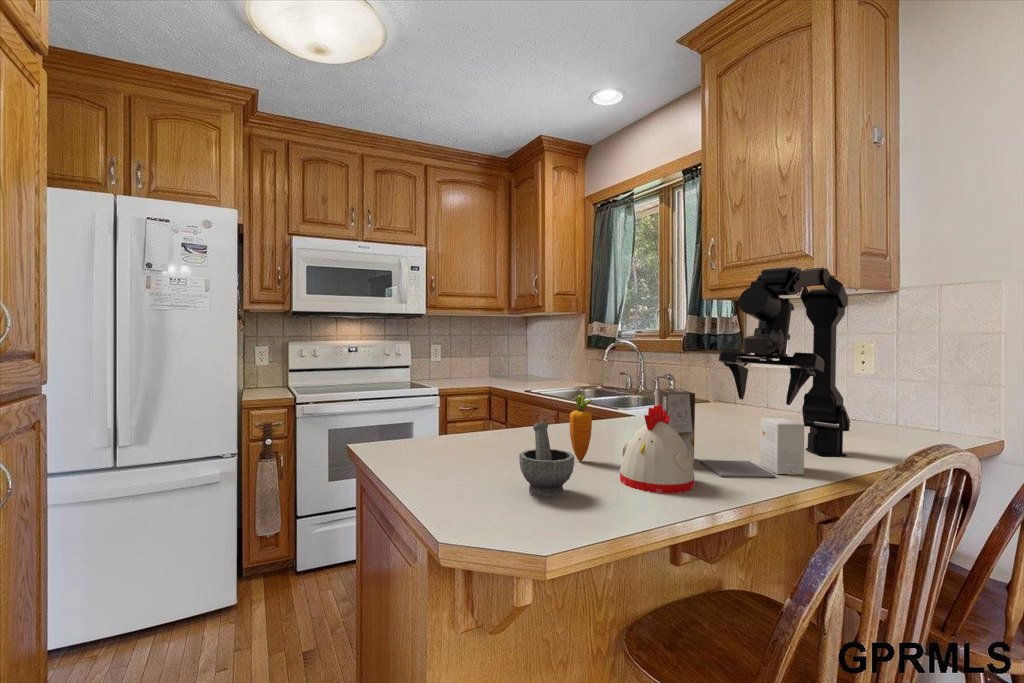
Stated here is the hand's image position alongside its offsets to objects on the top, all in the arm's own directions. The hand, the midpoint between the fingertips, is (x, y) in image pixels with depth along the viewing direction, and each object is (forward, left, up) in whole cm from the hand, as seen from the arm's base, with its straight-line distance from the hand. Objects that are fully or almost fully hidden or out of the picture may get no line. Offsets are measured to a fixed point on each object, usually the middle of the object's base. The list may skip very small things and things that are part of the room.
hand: (763, 402), depth 105 cm
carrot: (+35, -11, -15) cm, 40 cm away
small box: (-7, -6, -15) cm, 18 cm away
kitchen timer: (+22, +4, -16) cm, 28 cm away
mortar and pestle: (+44, +11, -15) cm, 48 cm away
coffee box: (+14, -12, -15) cm, 24 cm away
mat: (+3, -6, -15) cm, 16 cm away
